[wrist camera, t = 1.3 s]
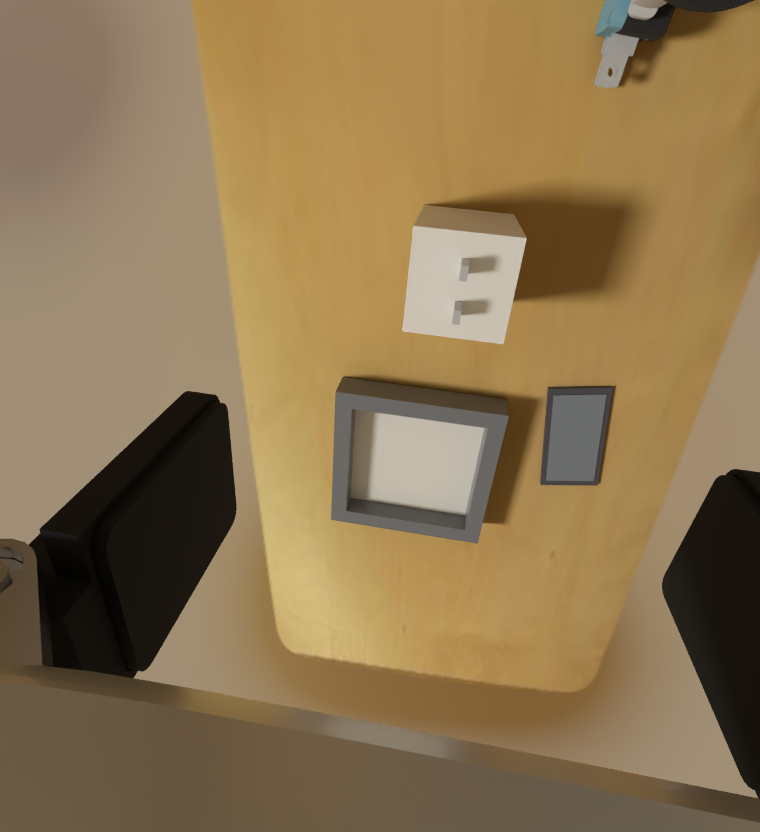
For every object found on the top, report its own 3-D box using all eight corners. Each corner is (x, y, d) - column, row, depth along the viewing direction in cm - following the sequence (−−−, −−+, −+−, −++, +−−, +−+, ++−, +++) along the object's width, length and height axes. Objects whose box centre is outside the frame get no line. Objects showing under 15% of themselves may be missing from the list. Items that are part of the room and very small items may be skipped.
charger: (423, 204, 25) (410, 231, 19) (514, 214, 25) (530, 244, 19) (413, 293, 27) (399, 343, 21) (495, 303, 27) (504, 356, 21)
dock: (342, 376, 31) (335, 391, 29) (506, 399, 30) (509, 416, 28) (337, 500, 36) (331, 519, 34) (476, 522, 35) (477, 543, 33)
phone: (546, 382, 29) (548, 389, 29) (609, 381, 29) (613, 388, 28) (539, 477, 33) (540, 485, 32) (594, 477, 32) (598, 486, 32)
